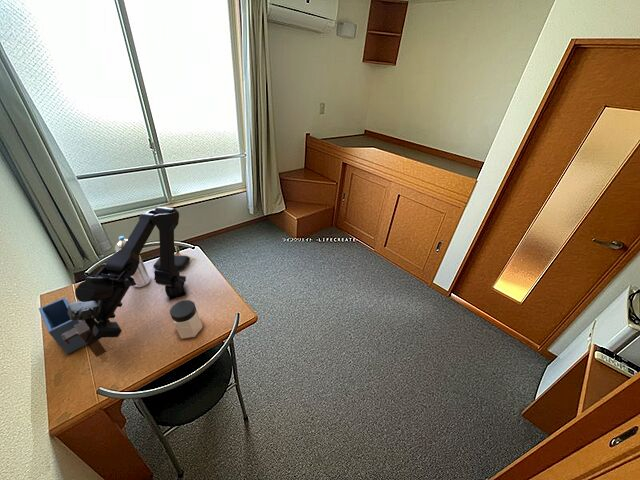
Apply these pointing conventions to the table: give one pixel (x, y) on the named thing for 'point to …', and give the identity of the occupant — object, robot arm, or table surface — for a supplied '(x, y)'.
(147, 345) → the table surface
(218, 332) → the table surface
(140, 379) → the table surface
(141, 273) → the water bottle
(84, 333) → the hook tag
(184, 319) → the jar
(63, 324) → the storage box
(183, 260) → the carrying case
